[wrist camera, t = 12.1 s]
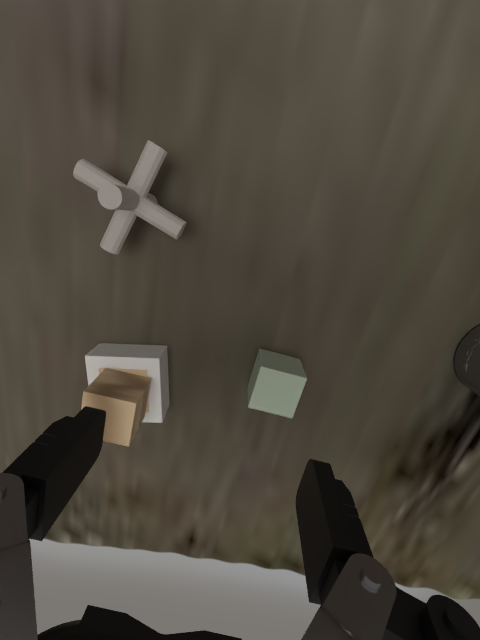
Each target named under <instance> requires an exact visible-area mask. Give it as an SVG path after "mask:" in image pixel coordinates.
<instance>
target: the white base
mask: <svg viewBox="0 0 480 640" xmlns="http://www.w3.org/2000/svg"><path fill="white" fill-rule="evenodd" d="M85 361H86V369H87V378H88V386H89V385H90V384H91V383H92V382H93V381H94V380H95V379H96V378H97V377H98V376H99V375H100V374H101V372H102V371H103V370H104V369H105V368H109V369H113V370H118V371H122V372H126V373H130V374H135V375H139V376H143V377H148V378H152V379H151V384H150V390H149V395H148V401H147V406H146V412H145V417H144V419H143V421H142V422H156V423H162V422H163V420H164V417H165V415H166V412H167V410H168V407H169V380H168V354H167V346H163V345H135V344H108V343H99V344H98V345H97V346H96V347H95V348H93V349H92V350H91V351H90V352H89V353H88V354H86V355H85Z"/></svg>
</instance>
